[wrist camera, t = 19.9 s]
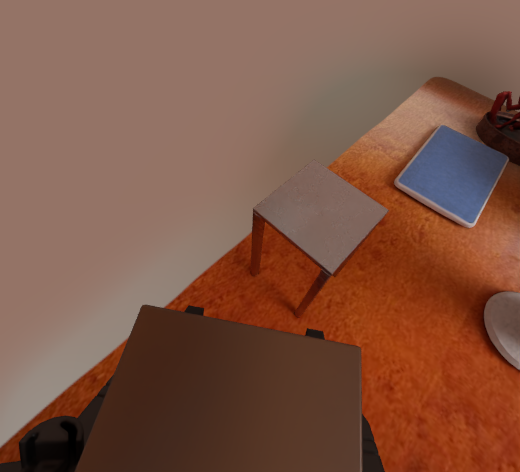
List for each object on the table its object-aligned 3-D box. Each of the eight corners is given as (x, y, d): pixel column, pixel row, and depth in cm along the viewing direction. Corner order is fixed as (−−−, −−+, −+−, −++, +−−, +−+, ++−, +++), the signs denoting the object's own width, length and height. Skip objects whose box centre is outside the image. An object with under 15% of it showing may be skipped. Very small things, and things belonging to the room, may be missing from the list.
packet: (292, 372, 14) (362, 346, 6) (276, 526, 11) (369, 941, 3) (202, 354, 15) (141, 303, 6) (164, 500, 12) (-66, 811, 3)
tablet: (437, 127, 50) (441, 121, 49) (506, 161, 46) (513, 155, 45) (389, 186, 42) (393, 180, 41) (468, 233, 38) (475, 228, 37)
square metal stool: (298, 318, 31) (332, 274, 19) (250, 273, 34) (252, 208, 22) (338, 273, 34) (389, 210, 22) (291, 234, 37) (314, 159, 25)
